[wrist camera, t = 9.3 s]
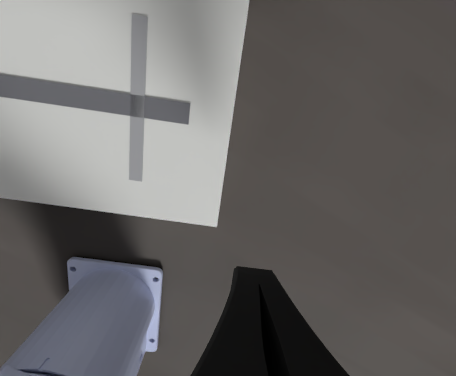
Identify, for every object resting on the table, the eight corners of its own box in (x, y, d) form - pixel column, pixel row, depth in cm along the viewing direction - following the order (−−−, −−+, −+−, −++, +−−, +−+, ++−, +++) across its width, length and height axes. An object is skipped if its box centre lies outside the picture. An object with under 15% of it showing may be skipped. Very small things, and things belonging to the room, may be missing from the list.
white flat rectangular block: (218, 209, 19) (216, 227, 16) (-107, 164, 18) (-173, 175, 15) (248, 1, 15) (253, -26, 12) (-177, -70, 14) (-288, -120, 11)
